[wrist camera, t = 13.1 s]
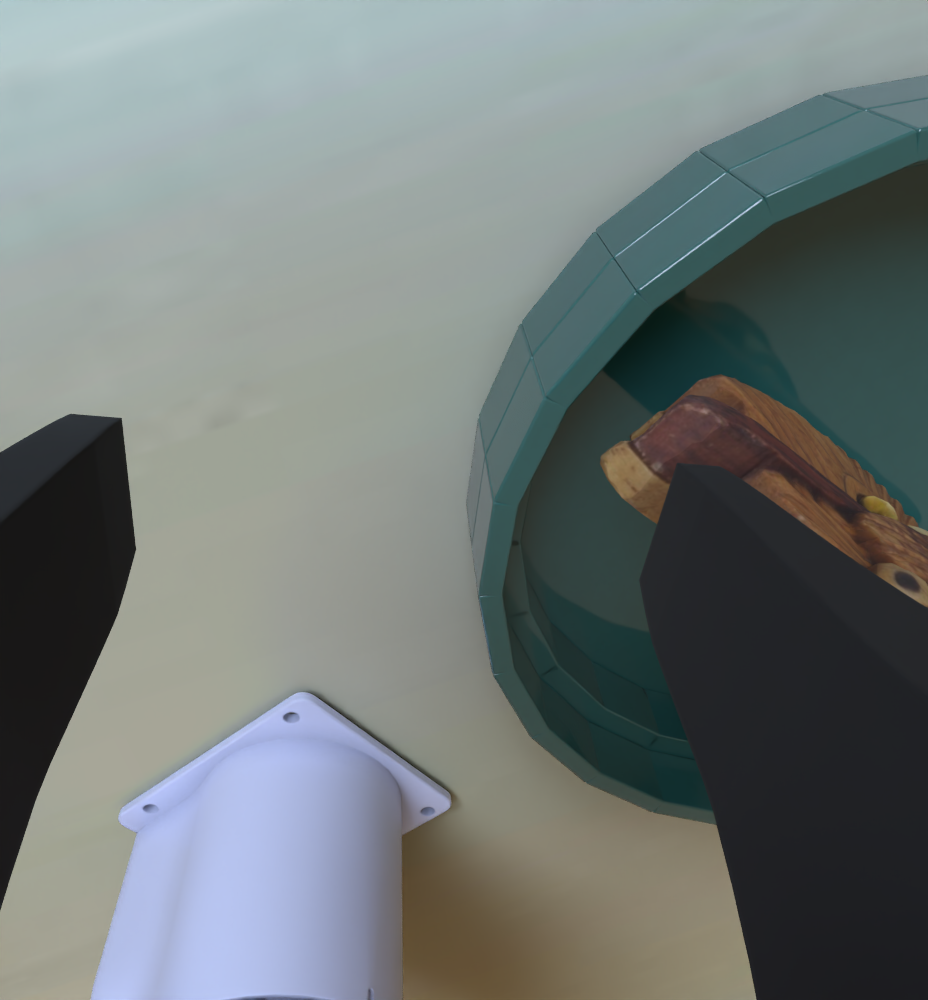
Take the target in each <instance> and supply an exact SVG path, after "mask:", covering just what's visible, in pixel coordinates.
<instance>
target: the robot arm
mask: <svg viewBox="0 0 928 1000" xmlns="http://www.w3.org/2000/svg"><path fill="white" fill-rule="evenodd" d="M135 551H136V546H135V537H134V527H133V518H132V509H131V500H130V491H129V482H128V472H127V463H126V454H125V445H124V436H123V426H122V418H114V417H101V416H89V415H76V414H69V415H67V416H65V417H63V418H60V419H58V420H56V421H54V422H53V423H51V424H49V425H47V426H45V427H43V428H42V429H40V430H38V431H36V432H35V433H33V434H31V435H29V436H28V437H26V438H24V439H22V440H21V441H19V442H17V443H16V444H14V445H12V446H11V447H9V448H7V449H5V450H4V451H2V452H0V910H1V906H2V903H3V900H4V896H5V893H6V890H7V887H8V883H9V880H10V877H11V874H12V871H13V868H14V865H15V862H16V859H17V856H18V853H19V849H20V846H21V843H22V840H23V837H24V834H25V831H26V828H27V825H28V822H29V819H30V816H31V813H32V810H33V807H34V804H35V801H36V798H37V796H38V793H39V791H40V788H41V786H42V783H43V781H44V778H45V776H46V773H47V771H48V768H49V766H50V763H51V761H52V759H53V757H54V755H55V752H56V750H57V748H58V746H59V744H60V741H61V739H62V737H63V735H64V733H65V731H66V728H67V726H68V724H69V722H70V720H71V717H72V715H73V713H74V711H75V709H76V706H77V704H78V702H79V700H80V698H81V695H82V693H83V691H84V689H85V687H86V684H87V682H88V680H89V678H90V676H91V673H92V671H93V669H94V667H95V665H96V662H97V660H98V658H99V656H100V653H101V651H102V649H103V647H104V644H105V642H106V640H107V638H108V635H109V633H110V631H111V629H112V626H113V624H114V622H115V619H116V617H117V614H118V611H119V608H120V604H121V601H122V598H123V594H124V591H125V588H126V584H127V581H128V577H129V573H130V570H131V566H132V562H133V559H134V555H135ZM639 582H640V587H641V593H642V598H643V603H644V608H645V614H646V618H647V623H648V627H649V631H650V636H651V640H652V644H653V647H654V650H655V653H656V655H657V658H658V661H659V664H660V667H661V669H662V672H663V675H664V678H665V680H666V683H667V686H668V689H669V691H670V694H671V697H672V699H673V702H674V705H675V707H676V710H677V713H678V715H679V718H680V721H681V723H682V726H683V729H684V731H685V734H686V737H687V739H688V742H689V745H690V747H691V750H692V753H693V755H694V758H695V761H696V763H697V766H698V769H699V771H700V774H701V777H702V779H703V782H704V785H705V788H706V791H707V794H708V797H709V801H710V804H711V807H712V810H713V813H714V816H715V820H716V824H717V828H718V832H719V836H720V840H721V844H722V848H723V852H724V855H725V859H726V863H727V867H728V871H729V875H730V879H731V883H732V887H733V892H734V896H735V900H736V905H737V909H738V914H739V918H740V923H741V927H742V932H743V936H744V940H745V945H746V949H747V954H748V958H749V963H750V968H751V973H752V978H753V983H754V988H755V993H756V999H757V1000H928V608H927V607H925V606H924V605H922V604H920V603H919V602H917V601H916V600H914V599H912V598H911V597H909V596H908V595H906V594H905V593H903V592H902V591H900V590H899V589H897V588H896V587H894V586H892V585H891V584H889V583H888V582H886V581H885V580H883V579H882V578H880V577H879V576H877V575H876V574H874V573H873V572H871V571H869V570H868V569H867V568H865V567H864V566H862V565H861V564H859V563H858V562H856V561H855V560H854V559H852V558H851V557H849V556H848V555H846V554H845V553H843V552H842V551H841V550H839V549H838V548H836V547H835V546H834V545H832V544H831V543H829V542H828V541H827V540H825V539H824V538H822V537H821V536H820V535H818V534H817V533H816V532H814V531H813V530H811V529H810V528H809V527H807V526H806V525H805V524H803V523H802V522H800V521H799V520H798V519H796V518H795V517H794V516H792V515H791V514H790V513H788V512H787V511H785V510H784V509H783V508H781V507H780V506H779V505H777V504H776V503H775V502H773V501H772V500H770V499H769V498H768V497H766V496H765V495H763V494H762V493H761V492H759V491H758V490H756V489H755V488H754V487H752V486H751V485H749V484H748V483H746V482H745V481H743V480H742V479H740V478H739V477H737V476H736V475H734V474H732V473H731V472H729V471H727V470H726V469H724V468H722V467H720V466H709V465H697V464H684V463H677V464H676V468H675V471H674V474H673V477H672V480H671V483H670V486H669V489H668V492H667V495H666V498H665V502H664V505H663V508H662V511H661V514H660V517H659V520H658V523H657V526H656V529H655V533H654V536H653V539H652V542H651V545H650V548H649V551H648V554H647V557H646V560H645V563H644V567H643V570H642V573H641V576H640V579H639ZM289 712H294V713H296V714H290V713H289ZM450 807H451V795H450V793H449V792H448V791H446V790H445V789H444V788H442V787H441V786H439V785H438V784H437V783H435V782H434V781H432V780H431V779H430V778H428V777H427V776H425V775H424V774H423V773H421V772H420V771H419V770H417V769H416V768H414V767H413V766H412V765H410V764H409V763H407V762H406V761H405V760H403V759H402V758H400V757H399V756H398V755H396V754H395V753H394V752H392V751H391V750H389V749H388V748H387V747H385V746H384V745H382V744H381V743H380V742H378V741H377V740H375V739H374V738H373V737H371V736H370V735H369V734H367V733H366V732H364V731H363V730H362V729H360V728H359V727H357V726H356V725H355V724H353V723H352V722H350V721H349V720H348V719H346V718H345V717H344V716H342V715H341V714H339V713H338V712H337V711H335V710H334V709H332V708H331V707H330V706H328V705H327V704H326V703H324V702H323V701H321V700H320V699H319V698H317V697H316V696H314V695H312V694H310V693H307V692H299V693H296V694H293V695H292V696H290V697H289V698H287V699H286V700H284V701H283V702H281V703H280V704H278V705H276V706H275V707H273V708H272V709H270V710H269V711H267V712H266V713H264V714H263V715H261V716H260V717H258V718H257V719H255V720H254V721H252V722H251V723H249V724H248V725H246V726H245V727H243V728H242V729H240V730H239V731H237V732H236V733H234V734H232V735H231V736H229V737H228V738H226V739H225V740H223V741H222V742H220V743H219V744H217V745H216V746H214V747H213V748H211V749H210V750H208V751H207V752H205V753H204V754H202V755H201V756H199V757H198V758H196V759H195V760H193V761H192V762H190V763H188V764H187V765H185V766H184V767H182V768H181V769H179V770H178V771H176V772H175V773H173V774H172V775H170V776H169V777H167V778H166V779H164V780H163V781H161V782H160V783H158V784H157V785H155V786H154V787H152V788H151V789H149V790H148V791H146V792H145V793H143V794H141V795H140V796H138V797H137V798H135V799H134V800H132V801H131V802H129V803H128V804H126V805H125V806H123V807H122V808H121V810H120V814H119V817H118V820H119V822H120V823H121V824H122V825H123V826H125V827H126V828H128V829H130V830H132V831H134V832H136V833H137V835H136V839H135V842H134V846H133V849H132V853H131V856H130V860H129V863H128V867H127V870H126V874H125V877H124V881H123V884H122V887H121V891H120V894H119V898H118V901H117V905H116V908H115V912H114V915H113V919H112V922H111V926H110V929H109V933H108V936H107V940H106V943H105V947H104V950H103V954H102V957H101V961H100V964H99V967H98V971H97V974H96V978H95V981H94V985H93V990H92V995H91V1000H403V934H402V835H404V834H406V833H407V832H409V831H411V830H413V829H415V828H416V827H418V826H420V825H422V824H424V823H425V822H427V821H429V820H431V819H433V818H434V817H436V816H438V815H440V814H442V813H443V812H445V811H447V810H448V809H449V808H450Z"/></svg>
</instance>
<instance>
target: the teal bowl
mask: <svg viewBox="0 0 928 1000" xmlns="http://www.w3.org/2000/svg"><path fill="white" fill-rule="evenodd" d="M719 374H722V375H724V376H727V377H731V378H735V379H737V380H738V381H740V382H741V383H744V384H747V385H749V386H751V387H753V388H755V389H757V390H759V391H761V392H762V393H764V394H766V395H768V396H770V397H771V398H773V399H774V400H776V401H779V402H780V403H781V404H783V405H784V406H786V407H788V408H790V409H792V410H794V411H796V412H797V413H798V414H799V415H801V416H802V417H803V418H804V419H806V420H807V421H808V422H809V423H810V424H811V425H812V427H814V428H815V429H816V430H817V431H819V432H820V433H821V434H823V435H825V436H828V437H829V438H830V440H831V441H832V442H833V443H834V444H835V445H837V446H839V447H840V448H842V449H843V450H844V451H845V452H846V454H847V456H848V457H849V458H852V459H854V460H856V461H857V462H858V463H859V464H860V466H861V468H862V470H866V471H868V472H869V473H870V474H871V475H872V476H873V478H874V480H875V482H876V484H879V485H883V486H884V487H885V488H886V491H887V493H888V494H889V496H890V497H891V498H894V499H896V500H898V502H899V503H900V504H901V505H902V508H903V511H904V514H906V515H909V516H912V517H913V518H914V519H915V521H916V522H917V524H918V526H919V528H921V529H924V530H926V531H928V75H925V76H919V77H914V78H908V79H902V80H896V81H891V82H885V83H879V84H873V85H868V86H862V87H856V88H850V89H845V90H839V91H833V92H828V93H824V94H823V95H818V96H815V97H813V98H811V99H809V100H807V101H804V102H802V103H800V104H798V105H796V106H793V107H791V108H789V109H787V110H785V111H782V112H780V113H778V114H776V115H774V116H771V117H769V118H767V119H765V120H763V121H760V122H758V123H756V124H754V125H752V126H749V127H747V128H745V129H743V130H741V131H738V132H736V133H734V134H732V135H730V136H727V137H725V138H723V139H721V140H719V141H716V142H714V143H712V144H710V145H708V146H705V147H703V148H701V149H700V150H699V151H696V152H695V153H693V154H692V155H691V156H689V157H688V158H687V159H686V160H684V161H683V162H682V163H680V164H679V165H678V166H677V167H675V168H674V169H673V170H671V171H670V172H669V173H668V174H666V175H665V176H664V177H663V178H661V179H660V180H659V181H657V182H656V183H655V184H654V185H652V186H651V187H650V188H648V189H647V190H646V191H645V192H643V193H642V194H641V195H639V196H638V197H637V198H636V199H634V200H633V201H632V202H630V203H629V204H628V205H627V206H625V207H624V208H623V209H621V210H620V211H619V212H618V213H616V214H615V215H614V216H612V217H611V218H610V219H609V220H607V221H606V222H605V223H603V224H602V225H601V226H600V227H598V228H597V229H596V232H594V233H592V235H591V236H590V237H589V238H588V240H587V241H586V242H585V243H584V245H583V246H582V247H581V248H580V250H579V251H578V252H577V253H576V255H575V256H574V257H573V258H572V260H571V261H570V262H569V263H568V265H567V266H566V267H565V268H564V270H563V271H562V272H561V273H560V275H559V276H558V277H557V278H556V280H555V281H554V282H553V283H552V285H551V286H550V287H549V288H548V290H547V291H546V292H545V293H544V295H543V296H542V297H541V298H540V300H539V301H538V302H537V303H536V305H535V306H534V307H533V308H532V310H531V311H530V312H529V313H528V315H527V316H526V317H525V318H524V320H523V321H522V324H520V325H519V327H518V330H517V332H516V334H515V336H514V338H513V341H512V343H511V345H510V347H509V350H508V352H507V354H506V356H505V359H504V361H503V363H502V365H501V367H500V370H499V372H498V374H497V376H496V379H495V381H494V383H493V385H492V388H491V390H490V392H489V394H488V396H487V399H486V401H485V403H484V405H483V408H482V410H481V412H480V414H479V419H478V423H477V430H476V437H475V444H474V452H473V459H472V466H471V473H470V480H469V488H468V495H467V513H468V521H469V529H470V537H471V545H472V553H473V561H474V568H475V576H476V584H477V592H478V599H479V605H480V610H481V615H482V621H483V626H484V632H485V637H486V642H487V648H488V653H489V659H490V664H491V669H492V673H493V676H494V678H495V679H496V681H497V683H498V684H499V686H500V688H501V689H502V691H503V693H504V694H505V696H506V698H507V699H508V701H509V703H510V704H511V706H512V708H513V709H514V711H515V712H516V714H517V716H518V717H519V719H520V721H521V722H522V724H523V726H524V727H525V729H526V731H527V732H528V734H529V736H530V737H532V739H533V740H535V741H536V742H537V743H538V744H539V745H541V746H542V747H543V748H544V749H545V750H547V751H548V752H549V753H550V754H551V755H553V756H554V757H555V758H556V759H557V760H559V761H560V762H561V763H562V764H563V765H565V766H566V767H567V768H568V769H569V770H571V771H572V772H573V773H574V774H575V775H577V776H578V777H579V778H580V779H581V780H583V781H584V782H586V783H587V784H589V785H591V786H593V787H596V788H598V789H600V790H603V791H605V792H607V793H609V794H612V795H614V796H616V797H618V798H621V799H623V800H625V801H627V802H630V803H632V804H634V805H637V806H639V807H641V808H643V809H646V810H648V811H650V812H654V813H657V814H662V815H667V816H673V817H678V818H683V819H688V820H693V821H698V822H704V823H709V824H714V825H717V824H716V820H715V816H714V813H713V810H712V807H711V804H710V801H709V797H708V794H707V791H706V788H705V785H704V782H703V779H702V777H701V774H700V771H699V769H698V766H697V763H696V761H695V758H694V755H693V753H692V750H691V747H690V745H689V742H688V739H687V737H686V734H685V731H684V729H683V726H682V723H681V721H680V718H679V715H678V713H677V710H676V707H675V705H674V702H673V699H672V697H671V694H670V691H669V689H668V686H667V683H666V680H665V678H664V675H663V672H662V669H661V667H660V664H659V661H658V658H657V655H656V653H655V650H654V647H653V644H652V640H651V636H650V631H649V627H648V623H647V618H646V614H645V608H644V603H643V598H642V593H641V587H640V582H639V579H640V576H641V573H642V570H643V567H644V563H645V560H646V557H647V554H648V551H649V548H650V545H651V542H652V539H653V536H654V533H655V529H656V526H657V524H656V523H655V522H653V521H652V520H650V519H649V518H647V517H646V516H645V515H643V514H642V513H640V512H639V511H638V510H637V509H635V508H634V507H633V506H632V505H630V504H629V503H628V502H627V501H625V500H624V499H623V498H622V497H621V496H620V495H619V493H618V492H617V491H616V490H615V488H614V487H613V486H612V484H611V483H610V482H609V481H608V479H607V477H606V475H605V473H604V471H603V469H602V467H601V465H600V459H601V455H603V454H604V453H605V452H606V451H607V450H608V449H610V448H611V447H613V446H614V445H616V444H617V443H619V442H620V441H631V440H630V435H631V434H632V433H633V432H634V431H636V430H638V429H639V428H640V427H642V426H643V425H644V424H645V423H646V422H647V421H648V420H650V419H651V418H652V417H653V416H654V415H655V414H657V413H658V412H659V411H665V410H666V409H667V408H668V407H670V406H671V405H672V404H673V403H674V402H675V401H676V400H677V399H679V398H680V397H681V396H682V395H683V394H684V393H685V392H687V391H688V390H689V389H690V388H691V387H692V386H693V385H694V384H695V383H696V382H697V381H698V380H701V379H704V378H707V377H711V376H715V375H719Z"/></svg>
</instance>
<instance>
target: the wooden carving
mask: <svg viewBox="0 0 928 1000" xmlns="http://www.w3.org/2000/svg"><path fill="white" fill-rule="evenodd" d="M630 440H631V441H620V442H619V443H617V444H616V445H614V446H613V447H611V448H610V449H608V450H607V451H606V452H605V453H604V454H603V455H601V459H600V465H601V467H602V469H603V471H604V473H605V475H606V477H607V479H608V481H609V482H610V483H611V484H612V486H613V487H614V488H615V490H616V491H617V492H618V493H619V495H620V496H621V497H622V498H623V499H624V500H625V501H627V502H628V503H629V504H630V505H632V506H633V507H634V508H635V509H637V510H638V511H639V512H640V513H642V514H643V515H645V516H646V517H647V518H649V519H650V520H652V521H653V522H655V523H656V524H657V523H658V520H659V517H660V514H661V511H662V508H663V505H664V502H665V498H666V495H667V492H668V489H669V486H670V483H671V480H672V477H673V474H674V471H675V468H676V464H677V463H684V464H697V465H709V466H720V467H722V468H724V469H726V470H727V471H729V472H731V473H732V474H734V475H736V476H737V477H739V478H740V479H742V480H743V481H745V482H746V483H748V484H749V485H751V486H752V487H754V488H755V489H756V490H758V491H759V492H761V493H762V494H763V495H765V496H766V497H768V498H769V499H770V500H772V501H773V502H775V503H776V504H777V505H779V506H780V507H781V508H783V509H784V510H785V511H787V512H788V513H790V514H791V515H792V516H794V517H795V518H796V519H798V520H799V521H800V522H802V523H803V524H805V525H806V526H807V527H809V528H810V529H811V530H813V531H814V532H816V533H817V534H818V535H820V536H821V537H822V538H824V539H825V540H827V541H828V542H829V543H831V544H832V545H834V546H835V547H836V548H838V549H839V550H841V551H842V552H843V553H845V554H846V555H848V556H849V557H851V558H852V559H854V560H855V561H856V562H858V563H859V564H861V565H862V566H864V567H865V568H867V569H868V570H869V571H871V572H873V573H874V574H876V575H877V576H879V577H880V578H882V579H883V580H885V581H886V582H888V583H889V584H891V585H892V586H894V587H896V588H897V589H899V590H900V591H902V592H903V593H905V594H906V595H908V596H909V597H911V598H912V599H914V600H916V601H917V602H919V603H920V604H922V605H924V606H925V607H927V608H928V531H926V530H924V529H921V528H919V526H918V524H917V522H916V521H915V519H914V518H913V517H912V516H909V515H906V514H904V511H903V508H902V505H901V504H900V503H899V502H898V500H896V499H894V498H891V497H890V496H889V494H888V493H887V491H886V488H885V487H884V486H883V485H879V484H876V482H875V480H874V478H873V476H872V475H871V474H870V473H869V472H868V471H866V470H862V468H861V466H860V464H859V463H858V462H857V461H856V460H854V459H852V458H849V457H848V456H847V454H846V452H845V451H844V450H843V449H842V448H840V447H839V446H837V445H835V444H834V443H833V442H832V441H831V440H830V438H829V437H828V436H825V435H823V434H821V433H820V432H819V431H817V430H816V429H815V428H814V427H812V425H811V424H810V423H809V422H808V421H807V420H806V419H804V418H803V417H802V416H801V415H799V414H798V413H797V412H796V411H794V410H792V409H790V408H788V407H786V406H784V405H783V404H781V403H780V402H779V401H776V400H774V399H773V398H771V397H770V396H768V395H766V394H764V393H762V392H761V391H759V390H757V389H755V388H753V387H751V386H749V385H747V384H744V383H741V382H740V381H738V380H737V379H735V378H731V377H727V376H724V375H722V374H719V375H715V376H711V377H707V378H704V379H701V380H698V381H697V382H696V383H695V384H694V385H693V386H692V387H691V388H690V389H689V390H688V391H687V392H685V393H684V394H683V395H682V396H681V397H680V398H679V399H677V400H676V401H675V402H674V403H673V404H672V405H671V406H670V407H668V408H667V409H666V410H665V411H659V412H658V413H657V414H655V415H654V416H653V417H652V418H651V419H650V420H648V421H647V422H646V423H645V424H644V425H643V426H642V427H640V428H639V429H638V430H636V431H634V432H633V433H632V434H631V435H630Z"/></svg>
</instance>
